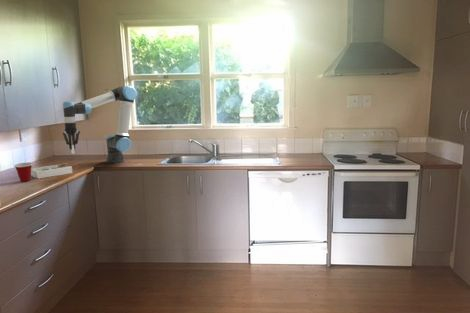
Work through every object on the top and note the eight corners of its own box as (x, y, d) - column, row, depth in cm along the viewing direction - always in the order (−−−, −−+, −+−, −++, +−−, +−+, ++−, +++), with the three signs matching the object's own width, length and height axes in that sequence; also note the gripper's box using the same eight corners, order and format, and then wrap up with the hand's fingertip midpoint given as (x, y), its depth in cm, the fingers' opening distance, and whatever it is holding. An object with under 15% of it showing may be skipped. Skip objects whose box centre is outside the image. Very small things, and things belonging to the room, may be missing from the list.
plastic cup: (14, 183, 239) (11, 166, 237) (18, 180, 249) (16, 163, 247) (32, 182, 242) (30, 164, 240) (36, 178, 252) (34, 161, 250)
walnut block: (65, 167, 273) (65, 162, 272) (68, 168, 269) (67, 163, 268) (58, 169, 269) (57, 163, 268) (60, 170, 265) (60, 164, 264)
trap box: (64, 170, 280) (63, 163, 279) (72, 172, 269) (71, 166, 268) (30, 175, 264) (29, 168, 263) (37, 178, 252) (36, 171, 251)
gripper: (77, 121, 276) (79, 152, 280) (59, 122, 267) (62, 154, 271) (80, 122, 271) (83, 153, 274) (62, 123, 262) (65, 155, 265)
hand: (72, 153), depth 273 cm, fingers closed
